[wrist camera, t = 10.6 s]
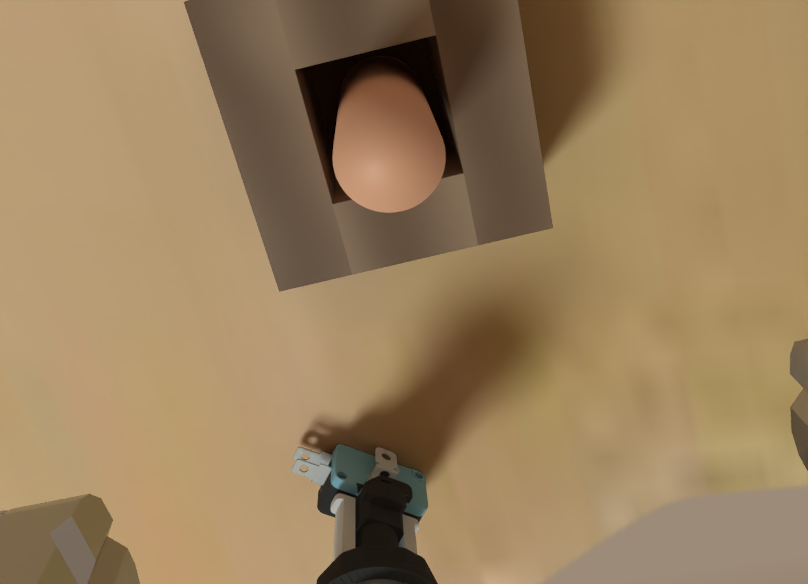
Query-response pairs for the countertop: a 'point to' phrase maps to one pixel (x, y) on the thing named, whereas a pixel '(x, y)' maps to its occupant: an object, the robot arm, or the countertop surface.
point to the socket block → (310, 146)
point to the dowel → (386, 137)
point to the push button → (369, 515)
